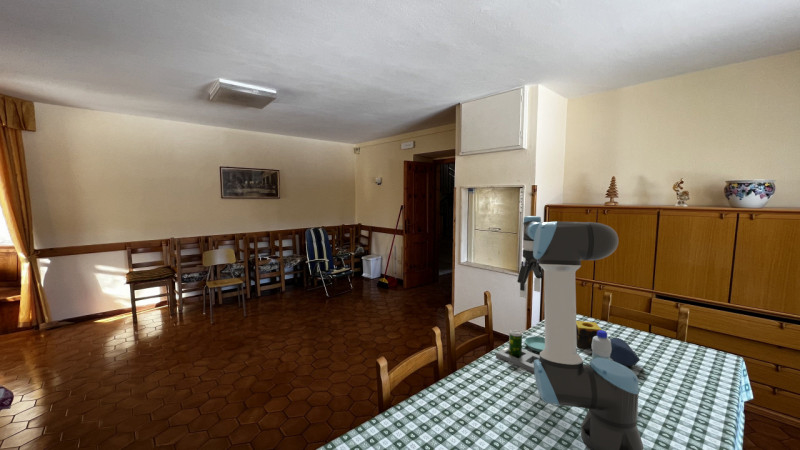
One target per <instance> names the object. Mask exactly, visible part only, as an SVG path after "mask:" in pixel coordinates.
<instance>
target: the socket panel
mask: <svg viewBox="0 0 800 450" xmlns="http://www.w3.org/2000/svg"><path fill="white" fill-rule="evenodd" d="M495 358H499V359H501V360H502V361H505V362H507V361H508V363H510V364H512V365H515V366H517V367H520V368H522V369H525V370H526V371H528V372H532V373H534V363H531V362H532V361H534V360H537V359H540V354H537V353H534V352H532V351H529V350H526V349H523V348H522V357H520V358H516V357H514V356H511V355H509V344H508V345H506V346H505V347H503V348H501V349H500V350H498V351H497V352H496V351H495Z"/></svg>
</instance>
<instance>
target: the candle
mask: <svg viewBox="0 0 800 450" xmlns="http://www.w3.org/2000/svg"><path fill="white" fill-rule="evenodd" d="M599 330H602V328H601V327H600V326H599V325H598V323H597V322H594V321H593V322H592V321H585V320H584V321H583V320H576V336H577V348H579V349H589V350H592V345H591V344H592V340H593V337H594V336H597V332H598V331H599Z"/></svg>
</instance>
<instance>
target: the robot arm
mask: <svg viewBox="0 0 800 450" xmlns="http://www.w3.org/2000/svg"><path fill="white" fill-rule="evenodd" d="M522 225H523V226H522V227H523V229H522V231H523V232H522V234H523V235H522V236H523V237H522V249H523V250H522V257H523V258H524V259H525V260H521V262H520V263H521V264H520V265H521V266H520V269H519V272H518V273H519V274H518V277H517V281H516V283H519V297H520V298H523V299H526V298H527V288H528V287H527V285H528V283H527V281H528V277H529V275H530V273H531V272H532V273H533V274H534V279H533V280H534V281H533V283H534V285H533V292H537V293H540V292H541V280H542V279H544V281H543V282H544V283H543V285H544V288H543V289H544V293H543V295H544V298H543V299H544V302H543V303H544V338H545V349H544V350H543V351H541V352H539V355H540V359H537V360H533V364H534V372H533V373H534V379H535V383H536V388H537V391H538V396H539V397H540V399H541V400H542V401H543V402H544V403H546V404H547V403H548V404H552V405H556V406H564V407H573V408H583V409H588V410H587V412H586V414H585V415H584V418H583V420H582V422H581V426H580V436H581V439H582V441H583V442H584V444H585V445H586V446H588V448H590V450H644V444H643V441H642V437H641V434H640V431H639V427H638V426H637V424H638V423H637V422H638V410H639V395H640V387H639V386H640V385H639V378H638V376H637V374H636V373H635V372H633V370H632V369H630V368H629V367H628V366H623V365H621V364H619V363H617V362H614V361H613V360H612V359H610V360H608V359H603V358H595V359H592V358H591V360H590V361H589V364H584V361H583V360H584V359H583V358H582V357H581V356H580V355H579V354H578V352H577V351H578V347H577V336H576V321H577V293H576V292H577V291H576V288H577V287H576V286H577V285H576V272H577V271H578V270H579V269H580V268H581V267H582V261H599V260H603V259H605V258H608V257H609V256H611V255H612V254H613V253H614V252H615V251H616V250H617V248H618V246H619V240H620V239H619V236H618V233H617V232H616V230H615V229H613V228H612V227H611V226H609V225H606V224H604V223H601V222H593V221H592V222H591V221H586V222H583V221H542V218H541V216H538V215H537V216H536V215H526V216H524V217H523V223H522Z"/></svg>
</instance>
